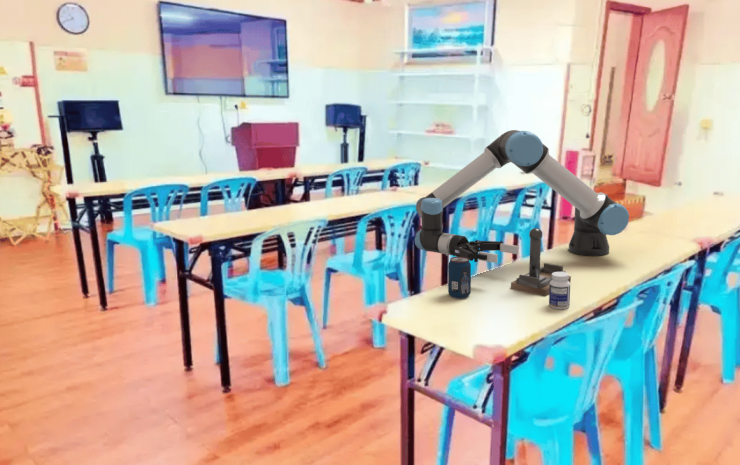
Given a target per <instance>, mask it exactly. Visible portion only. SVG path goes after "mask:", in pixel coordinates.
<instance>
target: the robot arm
mask: <svg viewBox="0 0 740 465" xmlns="http://www.w3.org/2000/svg"><path fill="white" fill-rule="evenodd" d="M549 150H550V149H549V147H547V145H545V144H544V143H543V141H542V139H541V138H540V137H539V136H538V135H536V134H535V133H534V132H531V131H527V130H517V129H516V130H515V129H514V130H512V129H511V130H508V131H506V132H504V133H502V134H501V135H500V136H498V137H497V138H496V139H495V140H494V141H492V142H491V143H489V145H487V146H486V147H485V148H484V151H483V153H481V154H480V155H478V156H477V157H476V158H474V159H473V160H472V161H470V162H469V163H468V164H467V165H465V166H464V167H463V168H462V169H460V170H459V171H458V172H456V173H455V174H454V175H452V176H451V177H450V178H448V179H447V180H445V182H443V183H442V184H441V185H439V186H438V187H437V188H435V189H434V190H433V191H432V192H430V193H429V194H427V195H426V196H423V197H421V198H419V199H418V200H417V201H416V203H415V210H416V212H417V215H418V216H419V217H420V218H421V229H419V230H418V231H417V232H416V234H415V238H414V243H415V246H416V248H418V249H419V250H422V251H425V252H431V253H437V254H443V255H445V256H446V257H448V256H452V257H466V258H468V259H469V262H472V261H473V262H474V263H478V262H479V261H482V262H483V261H484V262H489V263H492V264H493V263H494V264H497V263H498V260H499V258H498V254H497V253H492V252H486V251H500V253H501V252H502V253H507V254H508V253H509V254H514V255H519V248H520V247H519V245H516V244H515V245H513V244H506V243H504V241H503V240H499V241H496V240H495V241H493V240H492V241H491V240H478V239H476V240H471V241H469V239H468V238H467V236H465V235H459V234H453V233H448V232H447V233H446V232H443V210H444V208H445V207H447V205H449V204H450V203H452V202H453V201H455V199H458V198H459V197H460V196H461V195H463V194H464V193H465V192H466V191H468V190H469V189H470V188H471V187H473V186H474V185H476V184H477V183H478V182H480V181H481V180H483V179H485V177H486V176H488V174H490V173H491V172H493V171H495V170H496V169H501V168H503V167H504V166H505V165H508V164H510V163H512V164H513V165H515V166H516V167H517V168H518V169H520V170H521V171H522V172H523V173H525V174H526V175H528V174H533V175H534V176H535V177H537V179H539V180H540V181H542V182H543V183H544V184H545V185H547V186H548V187H550V189H552V190H553V191H554V192H555V193H557V194H558V195H559V196H561V197H562V198H563V199H564V200H566V201H567V202H568V203H570V205H572V207H574V223H573V224H574V225H573V228H574V229H573V233H572V236H571V238H570V241H569V243H568V251H569V252H570V253H573V254H575V255H579V256H580V255H581V256H588V257H589V256H590V257H591V256H593V257H595V256H597V257H599V256H605V255H608V254H609V253H610V243H609V240H608V237H607V236H616V235H619V234H621V233H622V232H623V231H624V230H625V229H626V228H627V226H628V224H629V222H630V219H629V218H630V213H629V210H628V209H627V208H626V206H624V205H623V204H620V203H617V202H615V201H614V200H613V199H611V197H609V195H608V194H606V193H604V192H601V191H600V192H596V191H595V190H593V189H592V188H591V187H590V186H589V185H588V184H586V183H585V182H584V181H583V180H581V179H580V178H579V177H578V176H576V175H575V174H574V173H573V172H572V171H570V170H569V169H567V167H565V166H564V165H563V164H562V163H560V162H559V161H558V160H556V159H555V158H554V157H553V156H551V154H550V152H549Z"/></svg>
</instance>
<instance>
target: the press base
mask: <svg viewBox="0 0 740 465" xmlns="http://www.w3.org/2000/svg"><path fill="white" fill-rule="evenodd" d="M553 272H566V270H564V265H560V264H553V263H548V262H544V263H543V266H540V275H541V276H546V280H544V281H542V282H540V283H539V278H536V277H531V276H526V275H528V274H529V272H528V273H525V274H519V275H518V277H517V278H515V279H516V280H513V281H512V282H510V290H516V291H520V292H524V293H529V294H530V293H531V294H533V295H539V296H544V297H547V296H549V288H550V281H551V280H552V273H553ZM566 273H567V272H566ZM571 278H572V276H570V275H569V279H568V281H569V282H570V283H571V281H572V280H571Z"/></svg>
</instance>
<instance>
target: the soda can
mask: <svg viewBox="0 0 740 465" xmlns="http://www.w3.org/2000/svg"><path fill="white" fill-rule="evenodd" d="M447 271H448V272H447V274H448V275H447V278H448V280H447V281H448V282H447V283H448V284H447V286H448V287H447V289H448V290H447V292H448V295H449V296H450V297H451V298H453V299H456V300H458V299H459V300H462V299H463V300H464V299H467V298H469V296H470V295H471V293H472V292H471V290H472V289H471V287H472V286H471V285H472V284H471V283H472V274H471V273H472V264H471V261H470V260H469V259H468V258H466V257H457V256H451V257H450V260H449V262H448V268H447Z"/></svg>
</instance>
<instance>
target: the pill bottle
mask: <svg viewBox="0 0 740 465" xmlns="http://www.w3.org/2000/svg"><path fill="white" fill-rule="evenodd" d="M569 276H570V274H569V273H568V272H553V273H552V280H551V281H550V288H549V295H548V305H549V307H550V308H552V309H556V310H567V309H569V307H570V305H571V303H570V301H571V282H569V281H568V279H569Z"/></svg>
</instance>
